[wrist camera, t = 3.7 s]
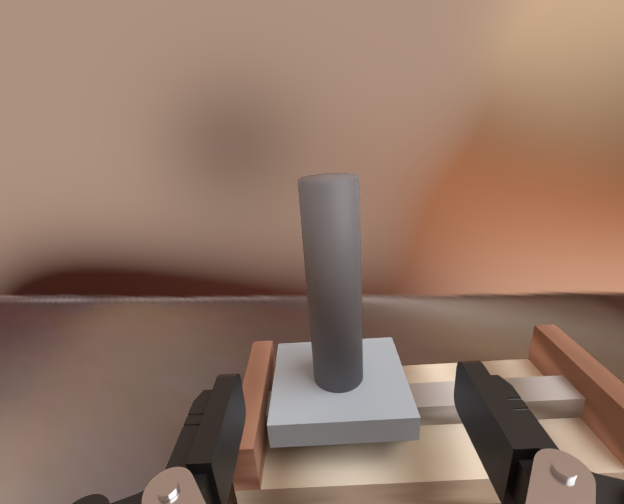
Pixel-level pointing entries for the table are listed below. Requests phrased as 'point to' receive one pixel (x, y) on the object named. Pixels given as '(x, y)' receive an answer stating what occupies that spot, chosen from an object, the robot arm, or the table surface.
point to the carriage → (337, 339)
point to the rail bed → (434, 433)
